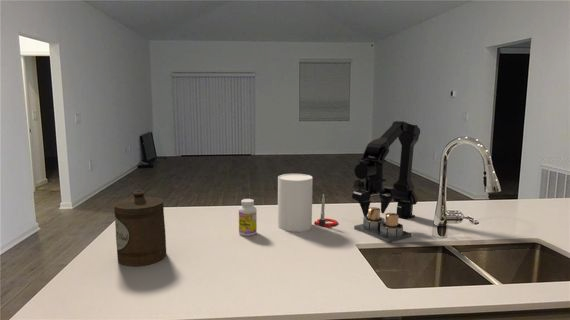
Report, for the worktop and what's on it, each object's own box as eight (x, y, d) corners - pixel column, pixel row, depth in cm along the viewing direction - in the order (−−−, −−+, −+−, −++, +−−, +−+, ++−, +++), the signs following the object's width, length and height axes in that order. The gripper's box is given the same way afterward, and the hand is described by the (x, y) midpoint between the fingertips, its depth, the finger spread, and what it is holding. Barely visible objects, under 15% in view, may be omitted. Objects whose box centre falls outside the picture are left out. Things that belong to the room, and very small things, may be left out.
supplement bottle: (235, 234, 150) (234, 201, 148) (245, 229, 156) (244, 197, 154) (250, 237, 147) (250, 203, 145) (259, 232, 153) (259, 199, 151)
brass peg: (381, 226, 156) (382, 209, 155) (373, 228, 154) (374, 211, 153) (373, 223, 160) (374, 206, 159) (365, 225, 158) (365, 208, 156)
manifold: (354, 228, 157) (354, 208, 156) (376, 223, 164) (377, 204, 163) (388, 242, 142) (389, 220, 141) (411, 236, 149) (412, 215, 148)
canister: (312, 221, 166) (313, 174, 163) (311, 232, 153) (311, 181, 150) (279, 220, 168) (279, 173, 165) (275, 231, 154) (276, 180, 151)
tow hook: (323, 219, 170) (311, 224, 163) (324, 190, 169) (313, 193, 161) (340, 223, 166) (330, 228, 158) (342, 192, 164) (332, 196, 156)
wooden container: (118, 251, 133) (114, 186, 130) (164, 246, 138) (161, 183, 135) (116, 269, 120) (112, 197, 116) (168, 262, 125) (165, 193, 121)
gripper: (377, 169, 165) (376, 206, 168) (343, 174, 155) (342, 213, 158) (398, 174, 156) (396, 213, 158) (363, 179, 146) (361, 220, 148)
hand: (374, 214), depth 156 cm, fingers open, 9 cm apart
